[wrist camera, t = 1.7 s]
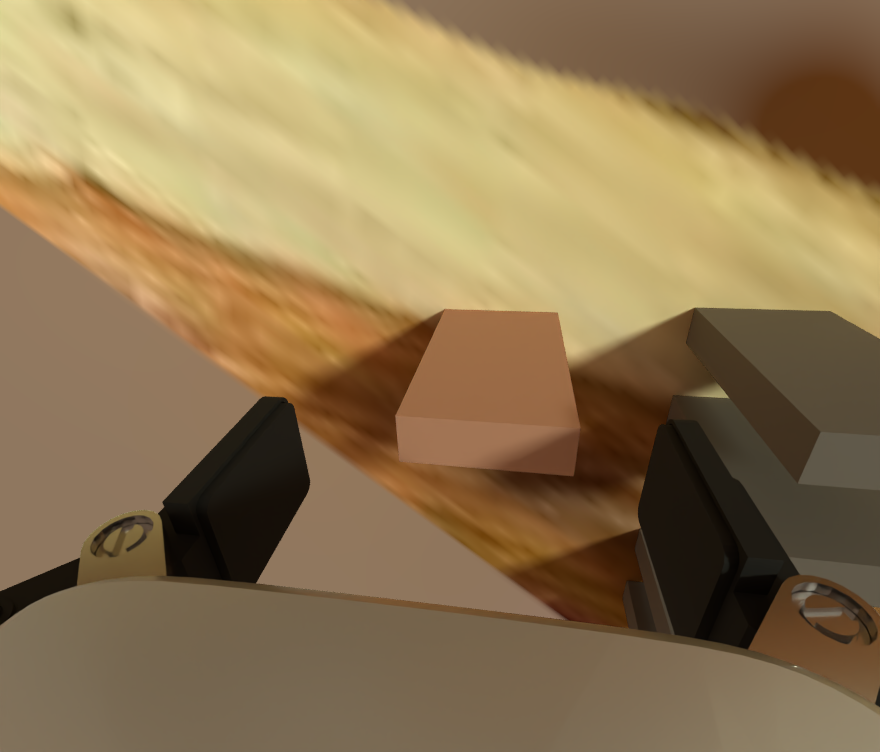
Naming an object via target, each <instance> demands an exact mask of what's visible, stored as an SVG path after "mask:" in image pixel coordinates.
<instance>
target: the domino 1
mask: <svg viewBox="0 0 880 752" xmlns="http://www.w3.org/2000/svg"><path fill="white" fill-rule="evenodd" d="M395 417H396V428H397V440H398V452H399V461H400V462H412V463H424V464H436V465H447V466H459V467H471V468H482V469H494V470H506V471H518V472H529V473H541V474H553V475H565V476H574V471H575V464H576V457H577V450H578V443H579V436H580V429H581V428H580V423H579V418H578V413H577V408H576V403H575V398H574V393H573V388H572V383H571V378H570V372H569V367H568V362H567V357H566V352H565V347H564V342H563V337H562V332H561V327H560V322H559V317H558V313H551V312H518V311H484V310H451V309H445V310H444V312H443V314H442V317H441V319H440V321H439V323H438V325H437V327H436V329H435V332H434V334H433V336H432V338H431V340H430V342H429V345H428V347H427V349H426V351H425V353H424V355H423V357H422V360H421V362H420V364H419V366H418V368H417V370H416V373H415V375H414V377H413V379H412V381H411V383H410V385H409V388H408V390H407V392H406V394H405V396H404V398H403V401H402V403H401V405H400V407H399V409H398V411H397V413H396V416H395Z"/></svg>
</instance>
